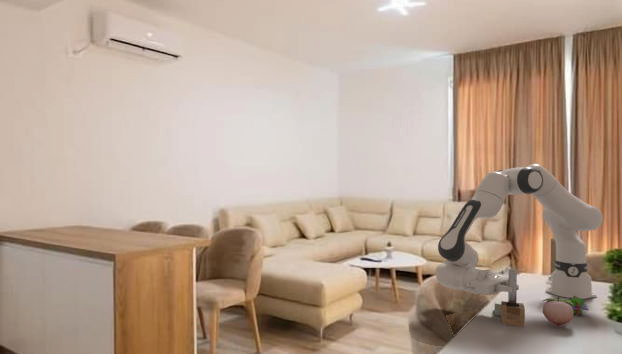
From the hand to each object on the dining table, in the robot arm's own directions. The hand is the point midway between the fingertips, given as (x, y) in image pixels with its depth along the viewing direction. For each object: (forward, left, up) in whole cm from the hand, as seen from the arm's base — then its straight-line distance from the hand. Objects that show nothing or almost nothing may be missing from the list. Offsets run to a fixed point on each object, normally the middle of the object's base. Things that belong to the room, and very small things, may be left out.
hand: (515, 288), depth 148 cm
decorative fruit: (-2, +13, -12) cm, 18 cm away
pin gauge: (0, -1, -10) cm, 10 cm away
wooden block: (-80, +26, -12) cm, 85 cm away
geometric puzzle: (-19, +21, -12) cm, 31 cm away
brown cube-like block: (0, -1, -12) cm, 12 cm away
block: (-10, -3, -12) cm, 16 cm away
